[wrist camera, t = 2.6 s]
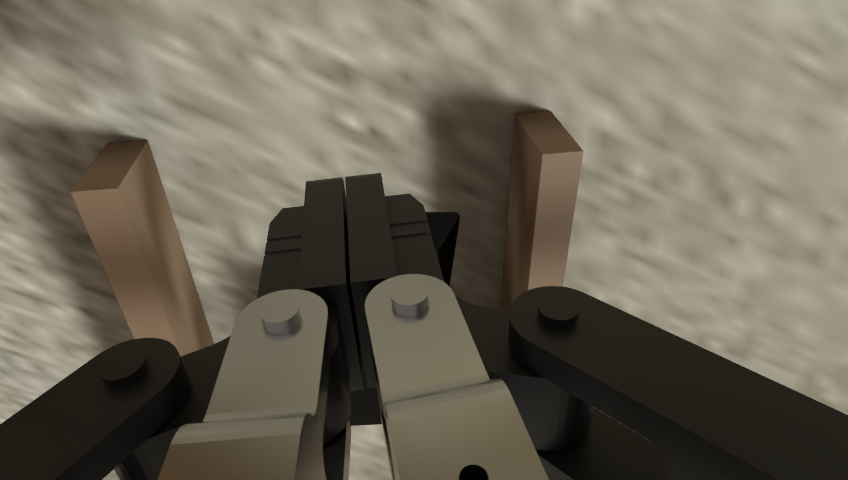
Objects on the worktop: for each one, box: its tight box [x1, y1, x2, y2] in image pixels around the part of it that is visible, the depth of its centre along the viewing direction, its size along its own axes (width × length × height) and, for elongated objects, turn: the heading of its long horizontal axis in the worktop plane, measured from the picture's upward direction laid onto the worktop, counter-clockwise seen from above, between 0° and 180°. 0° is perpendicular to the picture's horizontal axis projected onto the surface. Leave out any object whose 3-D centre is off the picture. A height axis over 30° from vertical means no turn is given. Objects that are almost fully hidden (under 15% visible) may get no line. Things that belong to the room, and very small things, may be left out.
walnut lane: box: [70, 111, 583, 356], centre depth 22 cm, size 18×14×3 cm
